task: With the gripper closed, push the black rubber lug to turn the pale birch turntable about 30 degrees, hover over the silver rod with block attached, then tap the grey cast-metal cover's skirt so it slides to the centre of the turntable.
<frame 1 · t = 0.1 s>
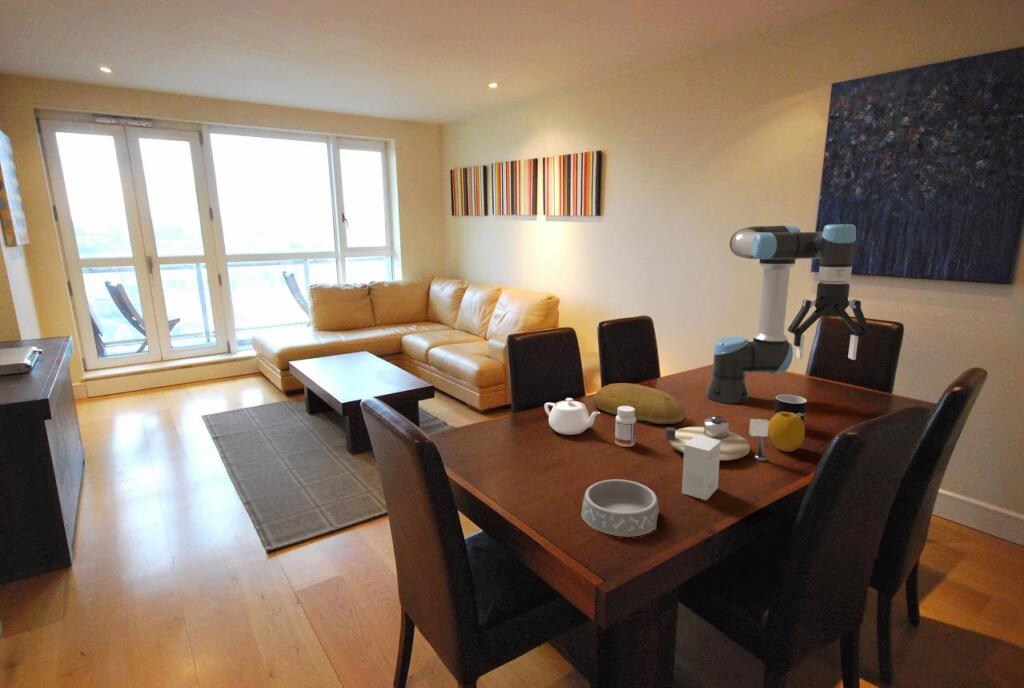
hand: (825, 358, 145), 28 cm above the table, fingers open, 13 cm apart
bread: (638, 413, 186), on the table
platter: (706, 437, 153), point 4 cm above the table, hinge at 0.0°, touching cover
dog bowl: (620, 516, 119), on the table
pill bottle: (625, 444, 159), on the table
mug: (790, 427, 170), on the table
teapot: (571, 430, 171), on the table
cover: (715, 434, 157), point 3 cm above the table, touching platter
apple: (784, 450, 153), on the table
silver rod with block: (759, 459, 147), on the table
small box: (699, 491, 130), on the table
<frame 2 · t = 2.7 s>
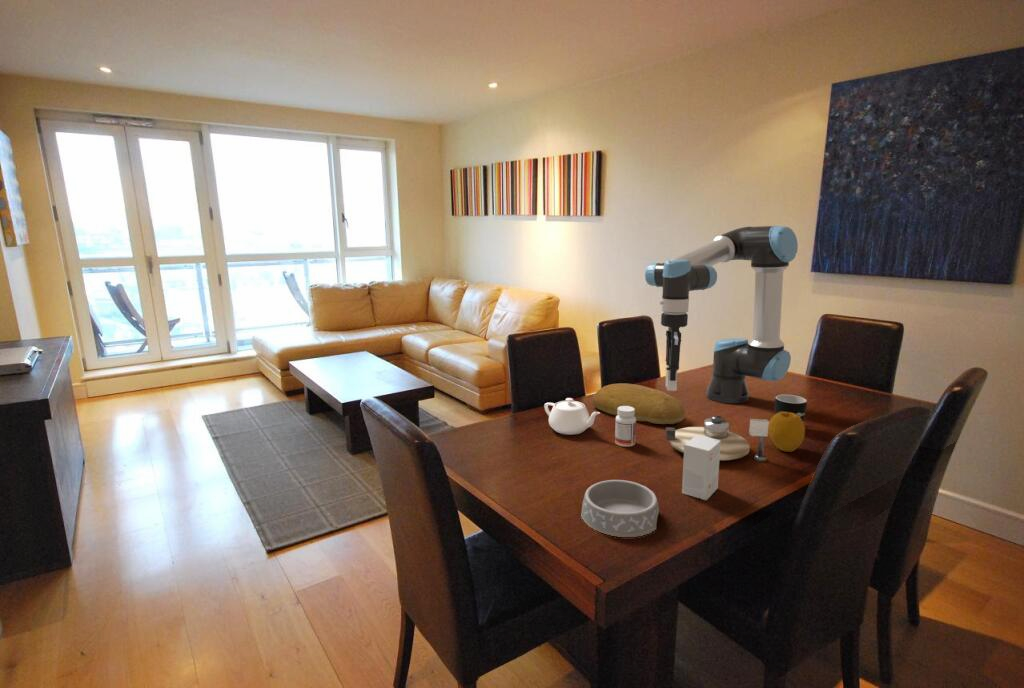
hand: (670, 388, 158), 17 cm above the table, fingers open, 3 cm apart
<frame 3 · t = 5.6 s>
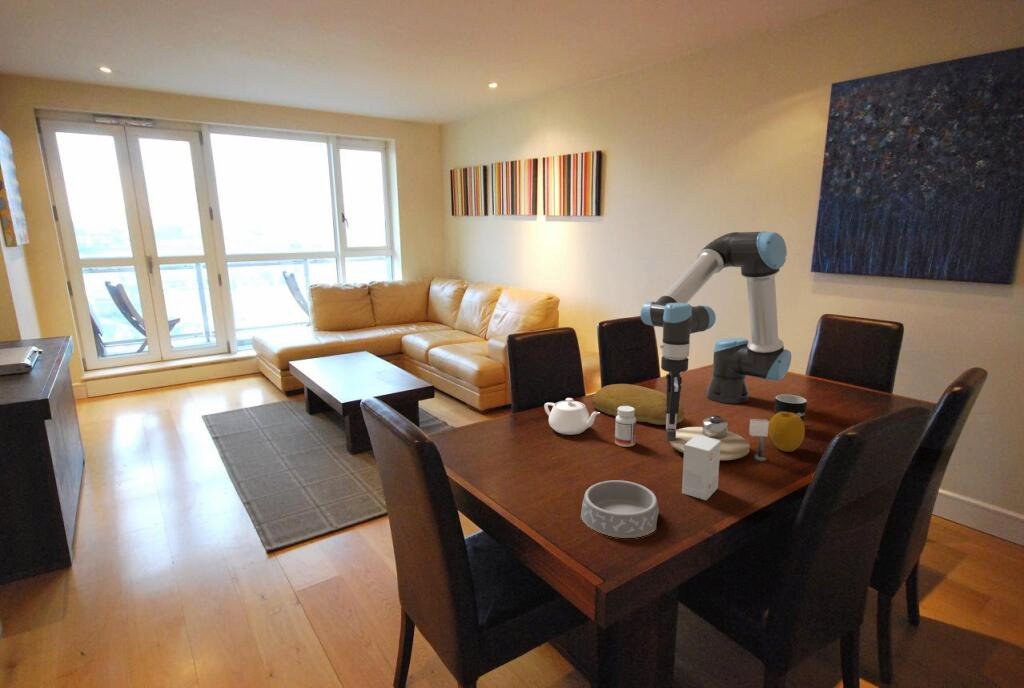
hand: (670, 432, 155), 4 cm above the table, fingers closed
platter: (706, 437, 153), point 4 cm above the table, hinge at 3.7°, touching cover, gripper
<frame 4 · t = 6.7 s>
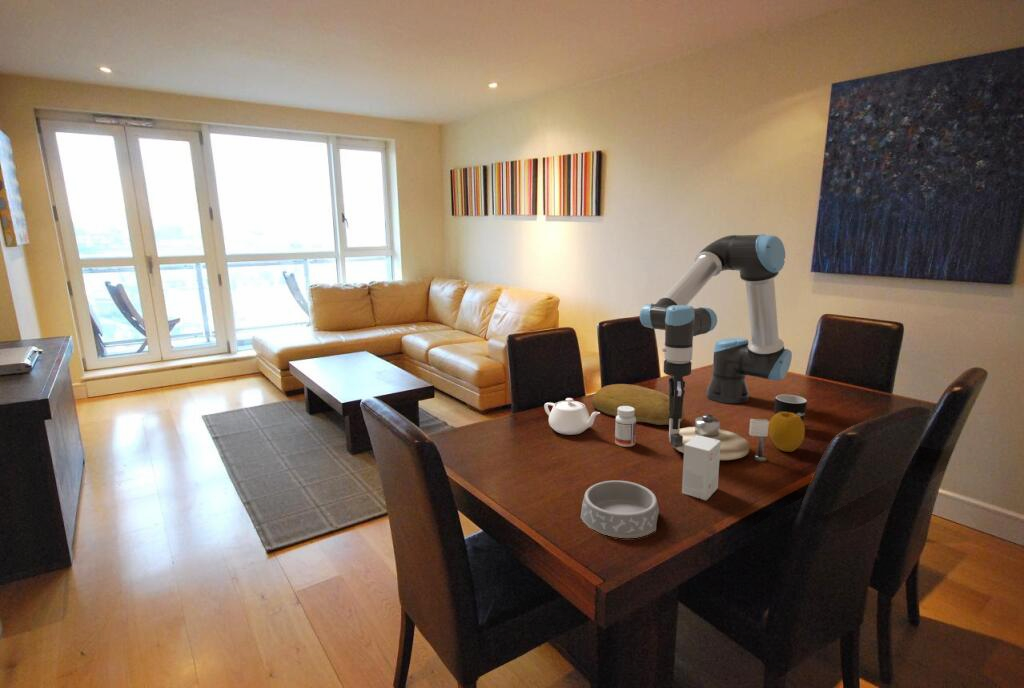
hand: (673, 438, 152), 4 cm above the table, fingers closed
platter: (707, 437, 153), point 4 cm above the table, hinge at 25.7°, touching cover, gripper
cover: (706, 433, 158), point 3 cm above the table, touching platter
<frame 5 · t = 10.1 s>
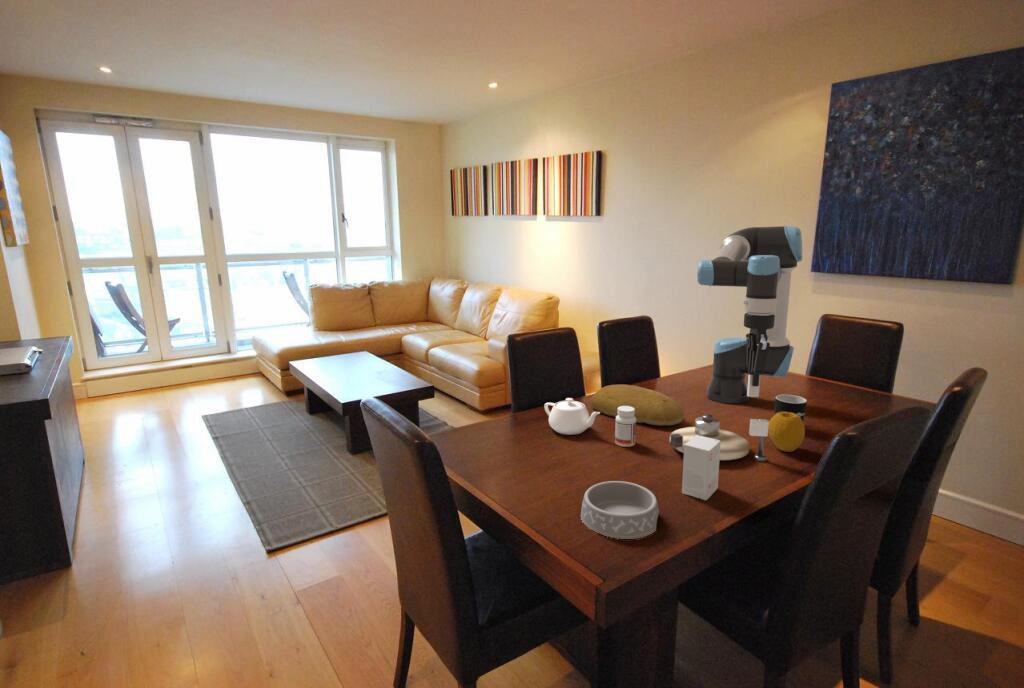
hand: (752, 396, 145), 18 cm above the table, fingers closed
platter: (707, 437, 152), point 4 cm above the table, hinge at 26.1°, touching cover
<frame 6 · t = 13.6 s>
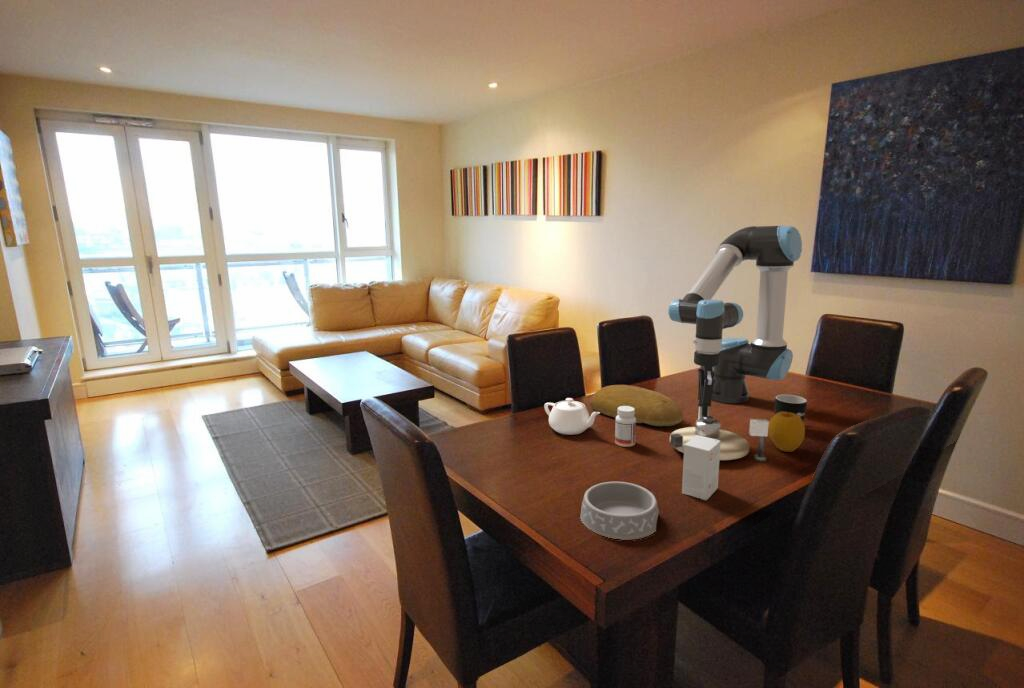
hand: (702, 425, 161), 4 cm above the table, fingers closed
cover: (707, 434, 157), point 3 cm above the table, touching gripper, platter
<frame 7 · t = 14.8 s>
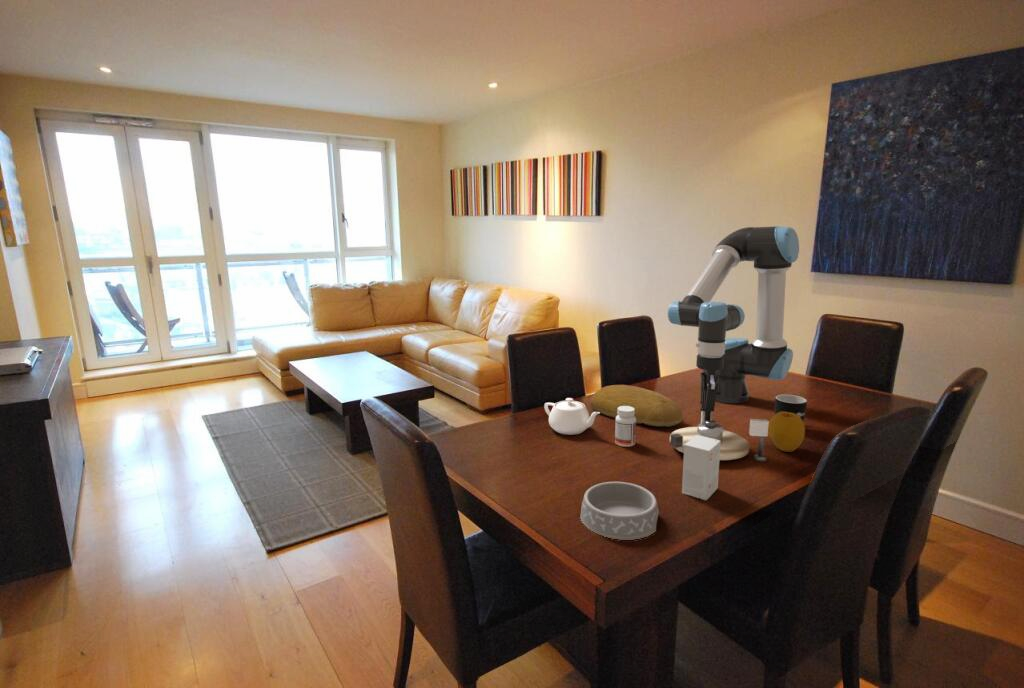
hand: (705, 430, 158), 4 cm above the table, fingers closed
cover: (709, 439, 154), point 3 cm above the table, touching gripper, platter
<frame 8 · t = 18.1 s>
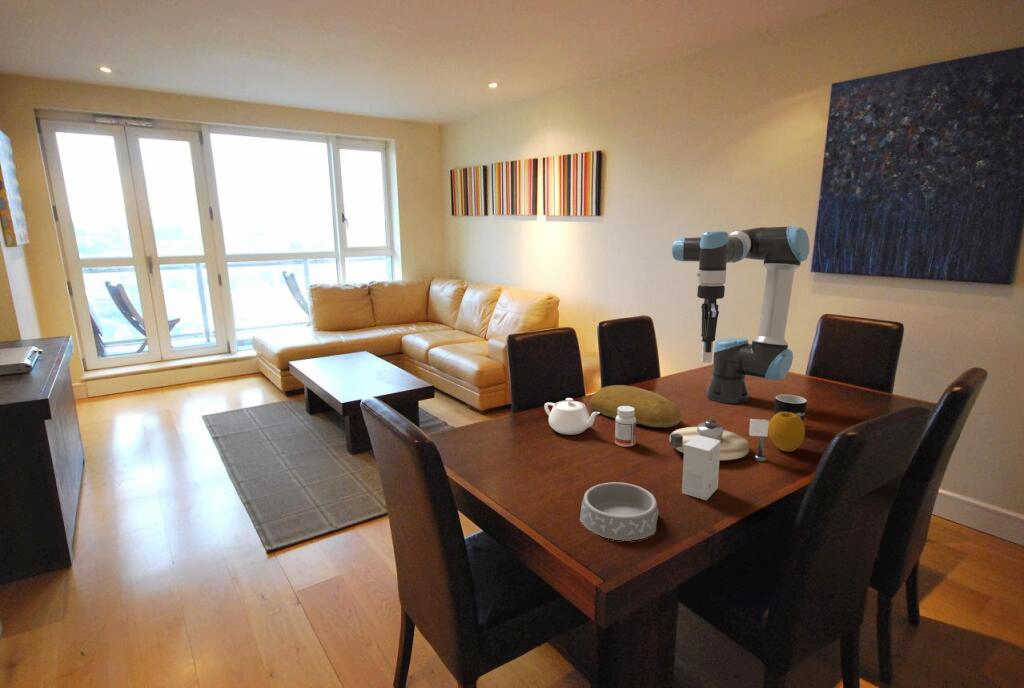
hand: (706, 361, 158), 24 cm above the table, fingers closed
cover: (709, 439, 154), point 3 cm above the table, touching platter
at the end: platter at +26° (first picture: +0°); cover 0.9 cm from the platter (horizontally); cover tilted 0° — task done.
